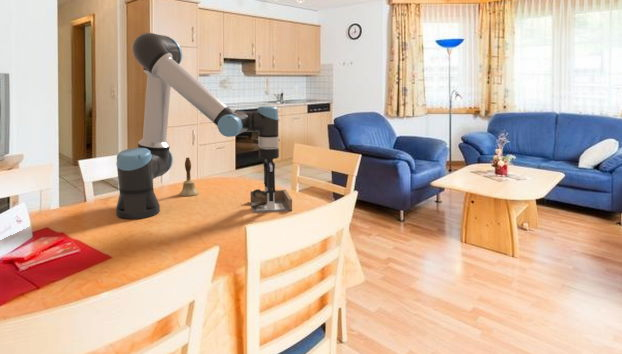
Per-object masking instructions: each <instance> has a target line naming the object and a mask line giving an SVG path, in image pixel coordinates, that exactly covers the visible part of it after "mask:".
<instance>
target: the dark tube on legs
mask: <svg viewBox="0 0 622 354" xmlns="http://www.w3.org/2000/svg"><path fill="white" fill-rule="evenodd" d="M252 191H253V193H252V194H253V196H254V197H256V198H258V199H263V200H262V201H260V202H257V203H256V204H255V205H253V206H252V205H251V206H250V207H251V208H252V209H253V208H256V207H258V206H261V205H266V204H267V193H266V192H263V191H264V190H261V189H258V188H257V189H254V190H252ZM274 198H276V197H275V193H274Z"/></svg>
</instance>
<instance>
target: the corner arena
mask: <svg viewBox="0 0 622 354" xmlns="http://www.w3.org/2000/svg"><path fill="white" fill-rule="evenodd" d="M253 191H254V190H250V191H249V192H250V204H251V206H253V205H255V204H256V203H257V202H260V201H262V200H263V199H258V198H256V197H254V196H253V194H252V193H253ZM262 191H263V192H265V190H262ZM274 193H275V197H276V198H275V209H267V204H266V205H261V206H258V207H256V208H252V211H253V213H254V214H256V213H274V212H276V213H277V212H292V211H293V198H292V197H291V195H290V194H289V192H288V191H287V190H286V189H275V192H274Z"/></svg>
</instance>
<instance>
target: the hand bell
mask: <svg viewBox="0 0 622 354" xmlns="http://www.w3.org/2000/svg"><path fill="white" fill-rule="evenodd" d="M184 169H185V171H186V180H185V181H183V185H182V189H181V191H179V196H180V197H194V196H198V195H199V194H200V192H199V191H198V190H197V188H196V186H195V185H196V184H195V181H193V180H192V179H191V169H192V162H191V159H190V157H185V162H184Z"/></svg>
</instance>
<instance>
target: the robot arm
mask: <svg viewBox="0 0 622 354" xmlns="http://www.w3.org/2000/svg"><path fill="white" fill-rule="evenodd" d="M132 54H133V57H134V58H135V60H136V61H137V62H138V64H139V65H140V66H142V68H143V70H142V71H143V72H144V73H145V74H146V76H147V78H146V88H145V89H146V90H145V102H144V103H145V105H144V116H143V117H144V118H143V119H144V120H143V129H142V130H143V131H142V133H143V134H142V139H140V140H138V144H137V147H134V148H133V147H131V148H127V149H123V150H122V151H120V152H118V154H117V155H116V163H115V164H116V170H117V178H118V179H117V180H118V189H119V196H118V199H117V204H116V207H115V215H116V217H118V218H120V219H124V220H127V219H128V220H130V219H131V220H133V219H136V220H137V219H145V218H149V217H153V216H156V215H157V214H159V213H160V212H161V209H160V208H161V206H160V203H159V200H158V198H157V195H156V192H155V191H154V179H156V178H159V177H162V176H164V175H165V174H166V173H168V171H169V170H170V169H172V166H173V163H174V161H173V159H174V157H173V154H172V152H171V150H170V147H171V144H170V143H169V142H168V141H167V135H168V133H167V132H168V122H169V121H168V120H169V112H170V111H169V110H170V99H171V98H170V97H171V88H172V89H174V90H175V91H176V92H177V93H178V94H179V95H180V96H181V97H182V98H184V99H185V100H186V101H187V102H188V103H190V105H192V106H193V107H194V108H196V109H197V110H198V111H199V112H200V113H202V114H203V116H205V117H206V118H208V120H210V121H211V122H212V123H213V124H214V125H215V126H217V130H218V132H219V133H220V135H222V136H223V137H227V138H233V137H237V136H238V135H240V134H242V133H245V132H246V133H250V132H252V133H253V132H255V133H256V132H257V133H258V137H257V138H258V142H257V143H258V147H259V149H258V157H259V159H260V160H261V159H262V160H263V164H262V165H263V185H264V191H265V192H266V193H267V209H275V198H274V192H275V190H276V180H275V179H276V178H275V174H276V173H275V171H276V170H275V169H276V163H275V162H274V159H275V160H276V159H278V158H279V157H280V154H279V152H280V149H279V148H278V147H279V142H280V141H281V139H280V138H279V122H280V121H279V110H278V109H279V108H278V107H277V106H274V105H259V106H258V108H257V110H256V111H242V110H241V111H240V110H239V111H238V110H235V111H234V110H233V109H231V108H230V107H229V106H228V105H227V104H225V102H223V101H222V100H221V99H220V98H218V97H217V96H216V95H215V94H214V93H212V91H210V90H209V89H208V88H207V87H206V86H205V85H204V84H202V83H201V82H200V81H199V80H198V79H196V77H194V76H193V75H192V74H191V73H189V72H188V71H187V70H186V69H185V68H184V67H183V66H181V65H180V64H181V62H182V59H183V51H182V48H181V46H180V44H179V43H178V41H176V40H175V39H174V38H172V37H170V36H168V35H167V36H166V35H162V34H157V33H153V32H145V33H142V34H140V35H138V36H137V37H136V38H135V39H134V42H133V43H132Z"/></svg>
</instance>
